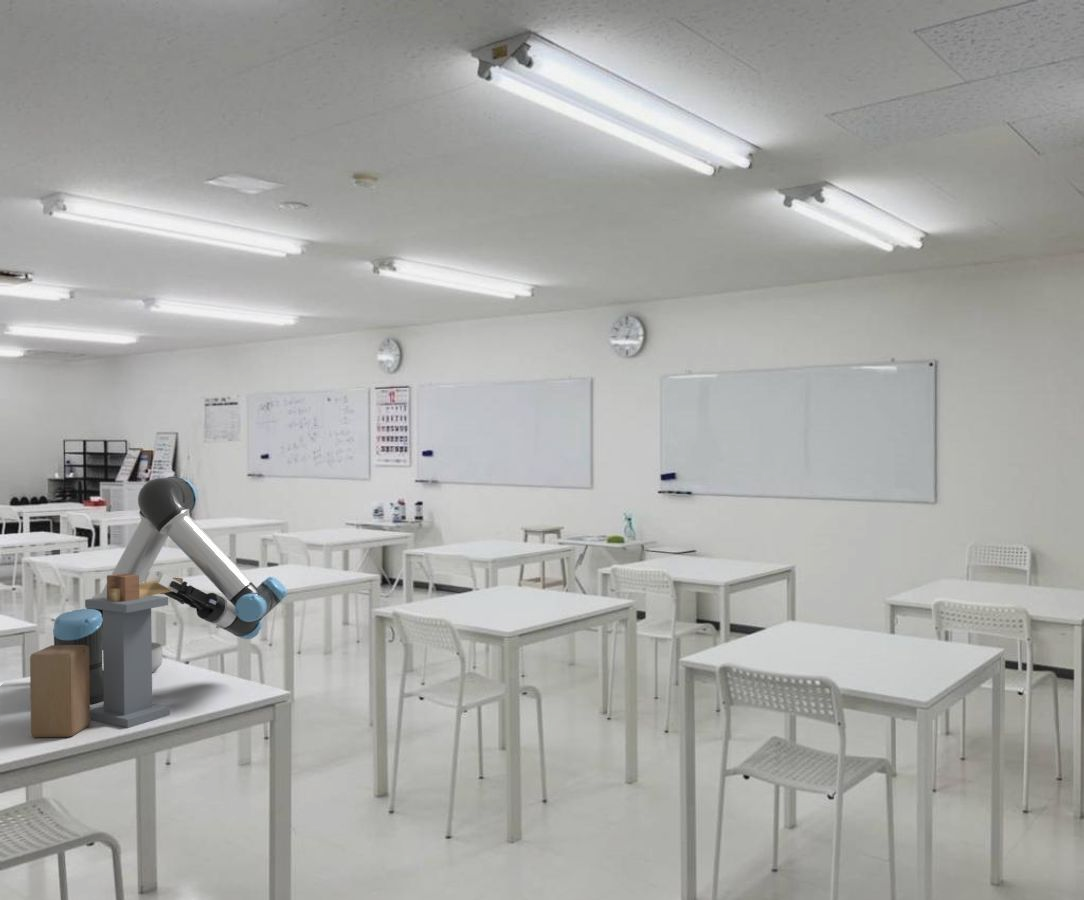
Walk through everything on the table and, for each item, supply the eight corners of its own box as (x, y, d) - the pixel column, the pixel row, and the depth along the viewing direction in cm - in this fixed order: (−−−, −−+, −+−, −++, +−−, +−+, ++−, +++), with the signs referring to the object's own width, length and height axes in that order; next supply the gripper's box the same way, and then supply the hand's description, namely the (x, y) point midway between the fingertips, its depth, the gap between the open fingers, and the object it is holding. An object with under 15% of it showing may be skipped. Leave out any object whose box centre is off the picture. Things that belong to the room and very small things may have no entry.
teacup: (170, 670, 280) (170, 644, 280) (138, 678, 271) (137, 651, 271) (142, 665, 288) (141, 639, 288) (110, 672, 279) (109, 646, 279)
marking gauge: (103, 599, 231) (103, 575, 231) (170, 588, 248) (169, 566, 248) (121, 601, 228) (121, 577, 227) (188, 590, 245) (187, 567, 245)
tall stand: (86, 718, 232) (85, 599, 231) (128, 706, 242) (127, 592, 242) (127, 727, 224) (126, 604, 224) (169, 714, 234) (168, 597, 234)
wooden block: (91, 725, 226) (90, 643, 226) (72, 738, 216) (71, 653, 216) (50, 725, 226) (49, 644, 226) (29, 738, 216) (28, 653, 216)
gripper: (233, 625, 251) (170, 593, 234) (189, 619, 260) (125, 588, 242) (243, 599, 254) (182, 566, 237) (199, 594, 263) (137, 562, 245)
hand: (153, 577), depth 240 cm, fingers open, 4 cm apart
